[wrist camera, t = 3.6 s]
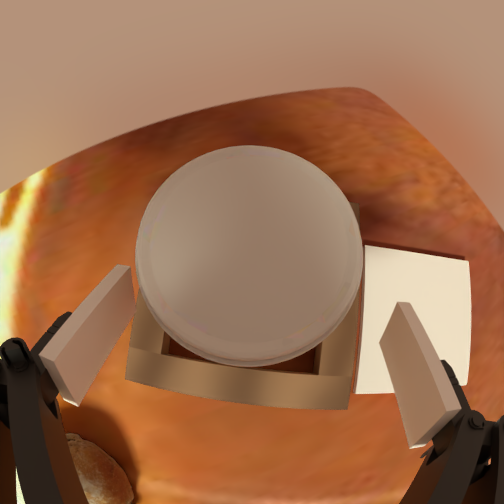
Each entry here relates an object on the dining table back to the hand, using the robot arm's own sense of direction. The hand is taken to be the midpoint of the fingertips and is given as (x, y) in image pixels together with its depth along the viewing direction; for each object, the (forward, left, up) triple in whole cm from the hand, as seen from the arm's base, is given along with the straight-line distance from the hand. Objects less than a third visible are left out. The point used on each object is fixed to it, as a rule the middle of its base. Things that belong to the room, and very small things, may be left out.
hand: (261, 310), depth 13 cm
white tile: (+14, +1, -8) cm, 16 cm away
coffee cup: (-1, +2, -9) cm, 9 cm away
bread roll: (-13, -18, -9) cm, 24 cm away
